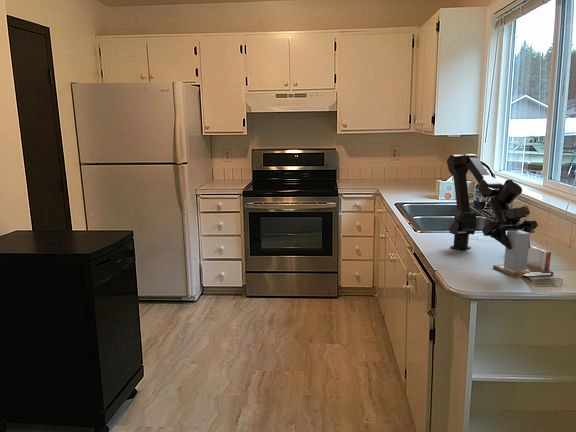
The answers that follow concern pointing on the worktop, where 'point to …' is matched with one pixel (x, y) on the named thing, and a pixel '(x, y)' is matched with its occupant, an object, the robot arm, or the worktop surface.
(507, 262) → the tall blue-gray box
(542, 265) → the shelf board
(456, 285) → the worktop surface
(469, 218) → the robot arm
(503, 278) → the worktop surface
